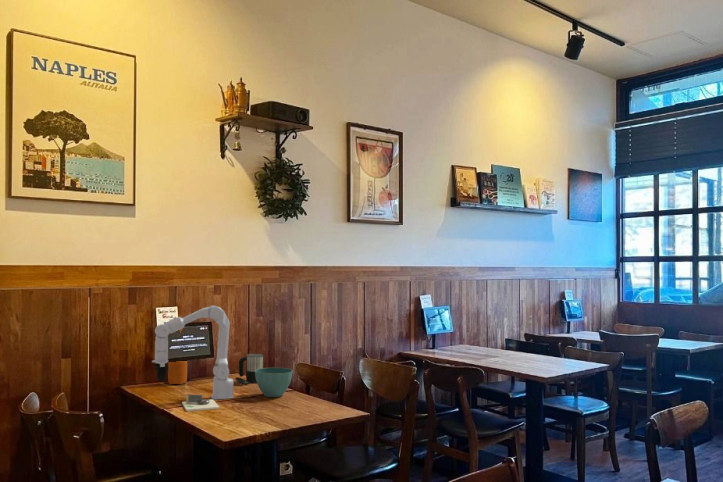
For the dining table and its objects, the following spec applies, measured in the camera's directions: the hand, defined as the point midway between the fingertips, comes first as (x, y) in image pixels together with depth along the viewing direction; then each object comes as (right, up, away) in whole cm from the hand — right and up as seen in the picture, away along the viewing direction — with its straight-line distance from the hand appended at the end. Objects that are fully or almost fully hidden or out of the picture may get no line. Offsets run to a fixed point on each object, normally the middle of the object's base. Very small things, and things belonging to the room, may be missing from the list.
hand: (160, 380), depth 276 cm
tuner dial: (+19, -9, -6) cm, 21 cm away
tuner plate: (+20, -10, -7) cm, 24 cm away
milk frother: (+32, -13, +50) cm, 60 cm away
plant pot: (+50, -12, +17) cm, 54 cm away
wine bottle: (-6, -13, +46) cm, 48 cm away
